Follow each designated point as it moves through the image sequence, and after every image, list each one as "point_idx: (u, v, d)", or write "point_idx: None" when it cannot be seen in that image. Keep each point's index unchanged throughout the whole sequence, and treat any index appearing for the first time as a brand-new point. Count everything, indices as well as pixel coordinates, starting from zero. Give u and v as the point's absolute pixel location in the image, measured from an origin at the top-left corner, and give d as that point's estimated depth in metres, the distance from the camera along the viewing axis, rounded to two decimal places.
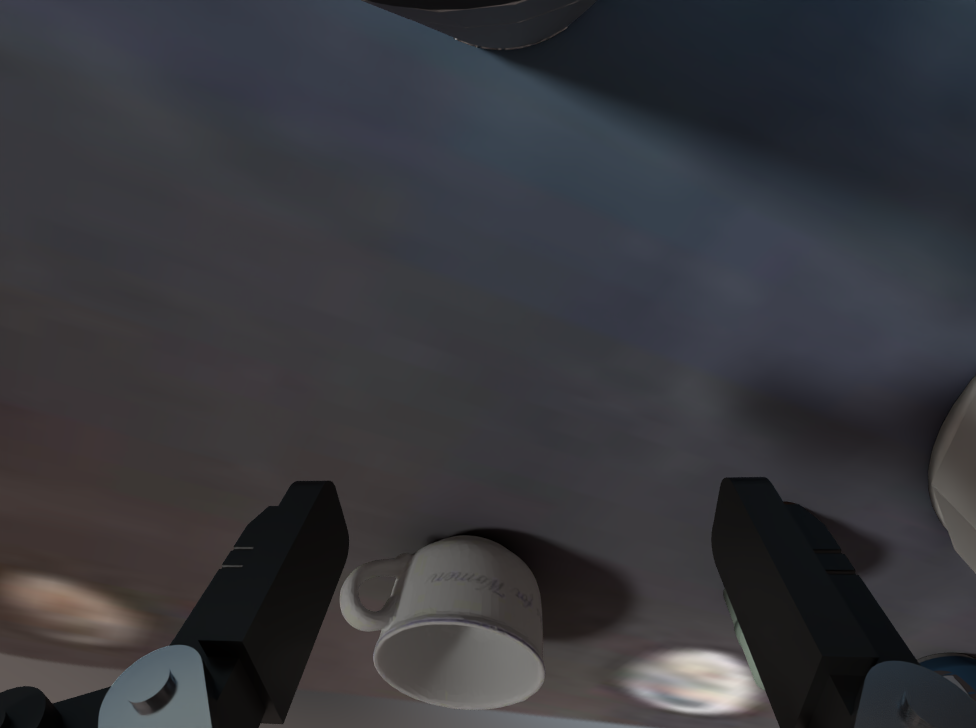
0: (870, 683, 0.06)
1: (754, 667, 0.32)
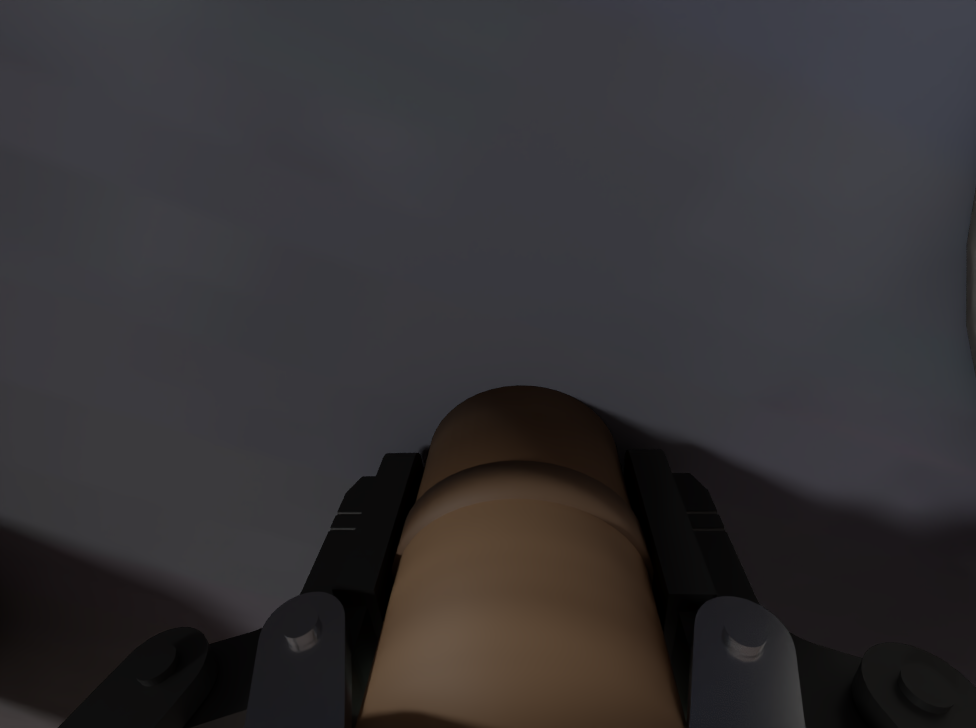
0: (700, 613, 0.07)
1: None
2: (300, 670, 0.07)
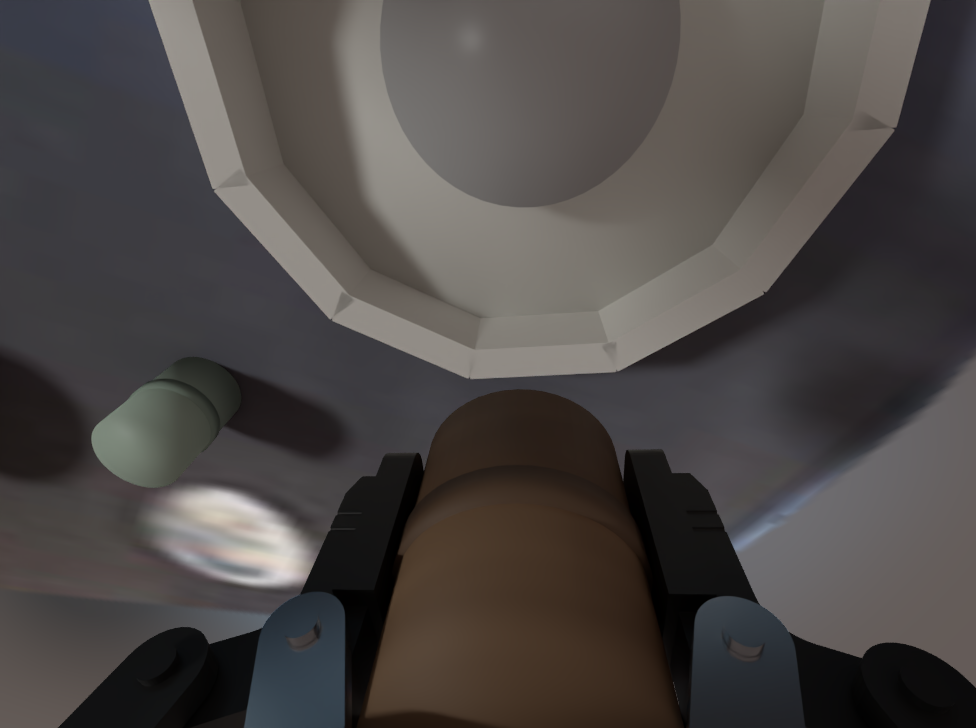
0: (700, 613, 0.07)
1: None
2: (300, 670, 0.07)
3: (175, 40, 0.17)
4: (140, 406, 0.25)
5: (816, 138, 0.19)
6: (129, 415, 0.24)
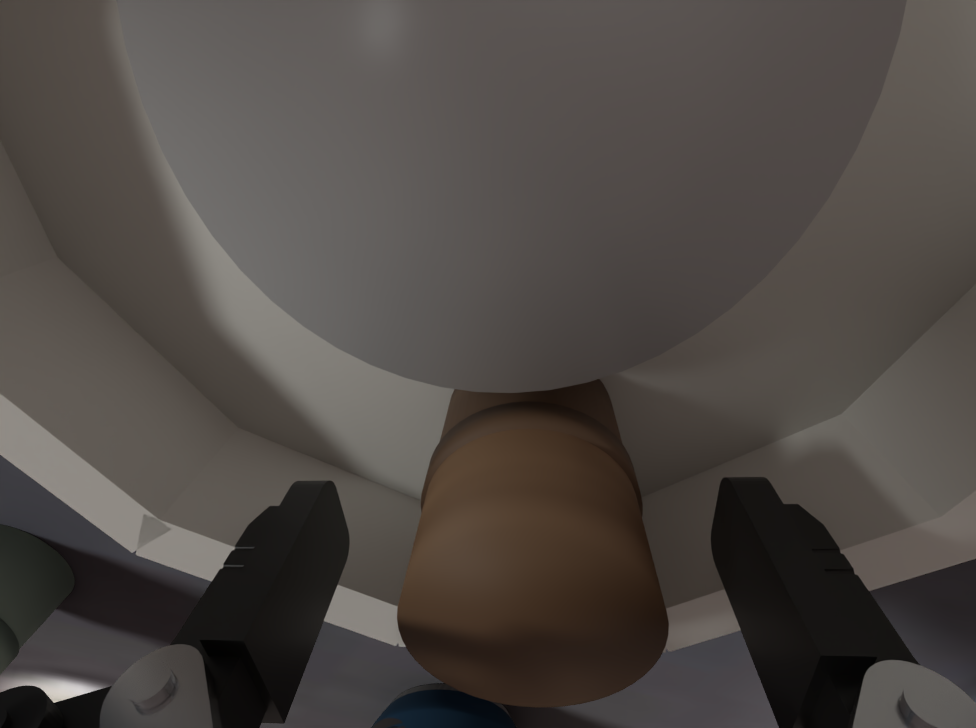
0: (869, 682, 0.06)
1: None
2: None
3: None
4: None
5: None
6: None
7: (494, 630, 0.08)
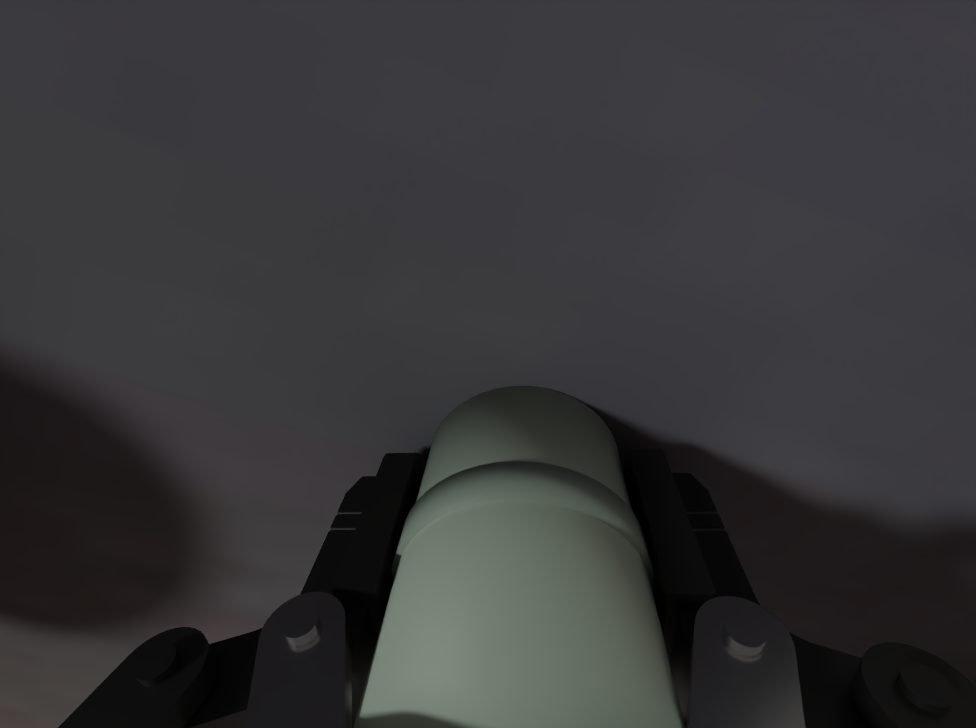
0: (700, 613, 0.07)
1: None
2: (300, 670, 0.07)
3: None
4: (548, 597, 0.06)
5: None
6: (551, 661, 0.06)
7: None
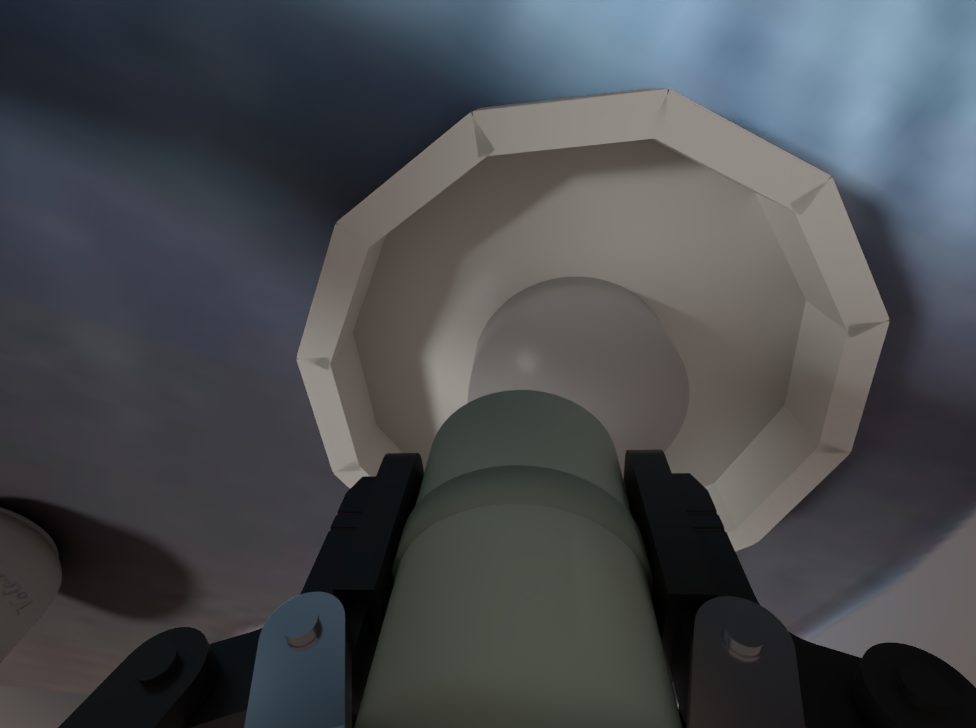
0: (700, 613, 0.07)
1: None
2: (300, 670, 0.07)
3: (316, 391, 0.24)
4: (545, 601, 0.06)
5: (793, 441, 0.25)
6: (549, 666, 0.06)
7: None
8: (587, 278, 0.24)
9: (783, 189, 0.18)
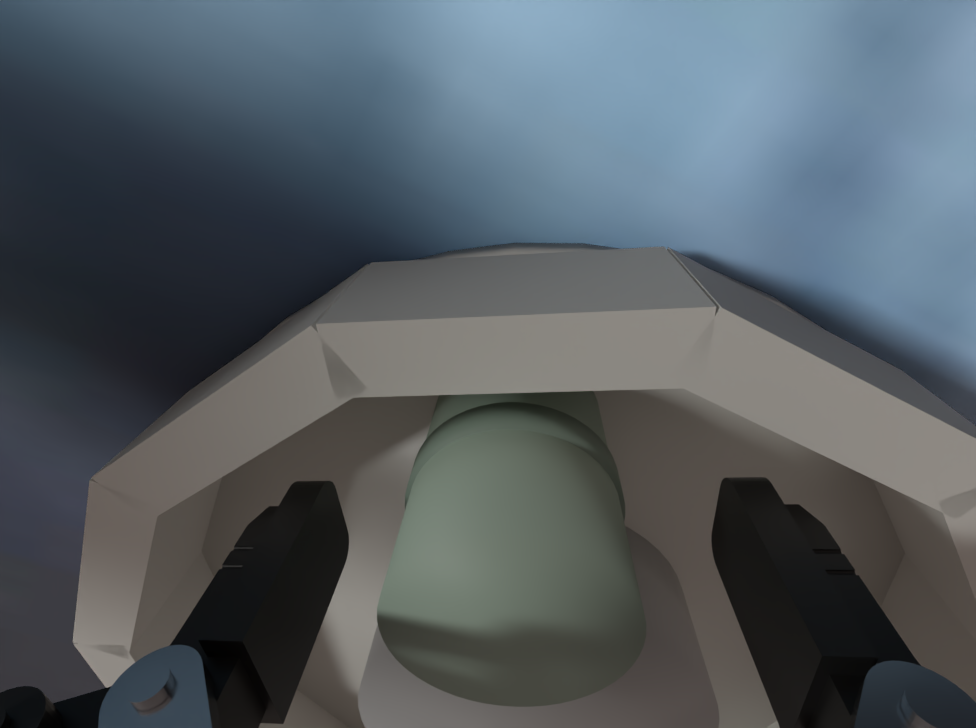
0: (870, 683, 0.06)
1: None
2: None
3: None
4: (531, 493, 0.08)
5: None
6: (533, 531, 0.07)
7: None
8: None
9: (928, 481, 0.09)
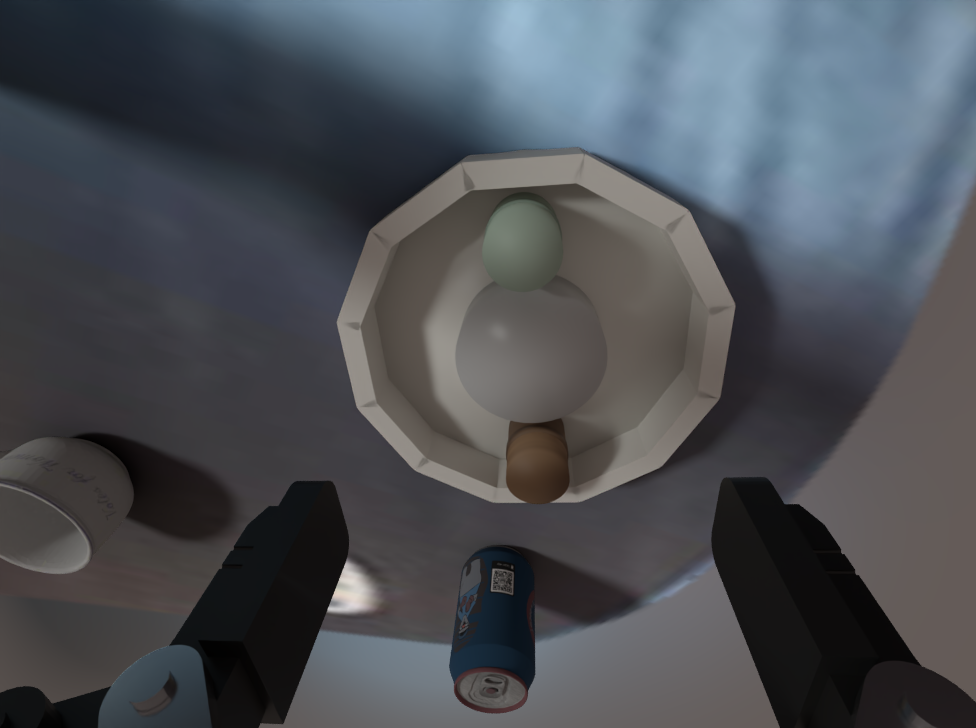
0: (870, 683, 0.06)
1: None
2: None
3: (349, 346, 0.34)
4: (529, 209, 0.27)
5: (684, 392, 0.35)
6: (529, 212, 0.26)
7: (529, 480, 0.35)
8: None
9: (659, 217, 0.28)
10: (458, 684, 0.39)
